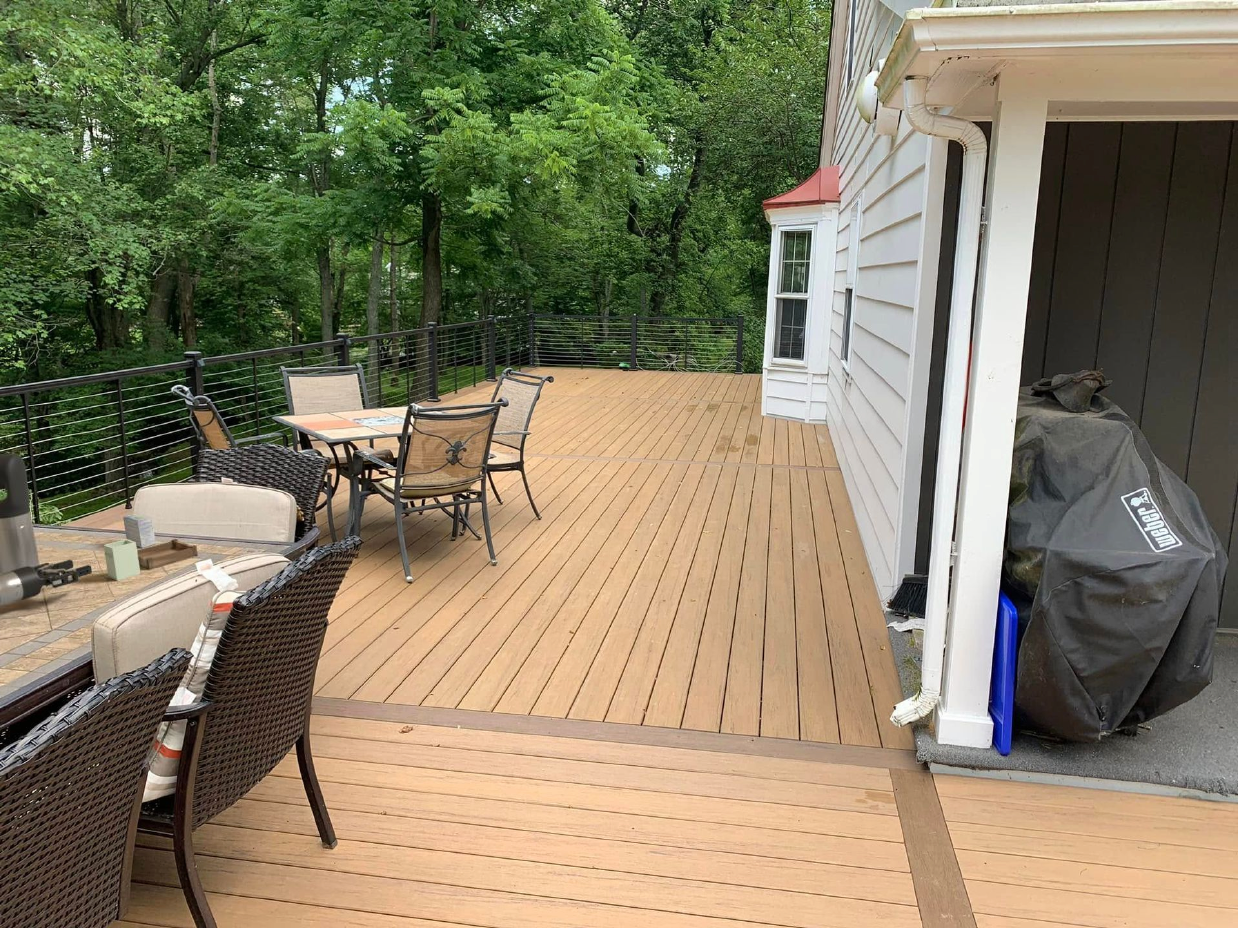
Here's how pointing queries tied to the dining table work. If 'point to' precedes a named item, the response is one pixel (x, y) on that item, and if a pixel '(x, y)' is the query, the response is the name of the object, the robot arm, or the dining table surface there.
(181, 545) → the walnut crate
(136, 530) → the medicine box
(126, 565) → the small square vase
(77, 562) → the dining table surface
